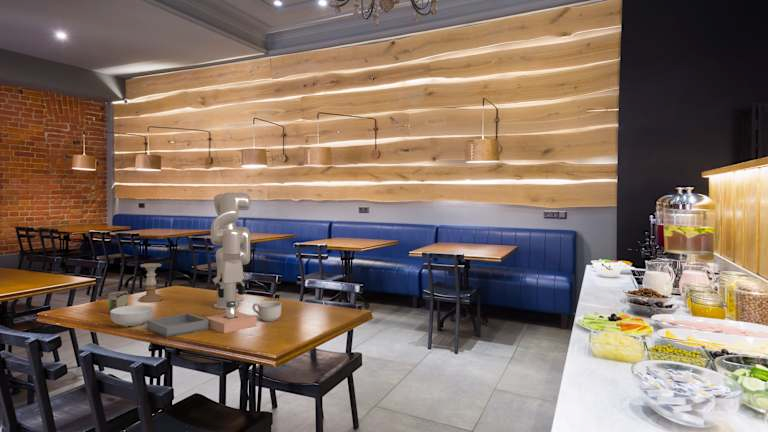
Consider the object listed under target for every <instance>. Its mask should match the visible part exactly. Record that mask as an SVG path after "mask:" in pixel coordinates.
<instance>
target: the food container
mask: <svg viewBox="0 0 768 432" xmlns="http://www.w3.org/2000/svg"><path fill="white" fill-rule="evenodd" d="M128 296H129V292H128V290H125V291H124V290H123V291H121V290H120V291H114V292H111V293H108V295H107V300H108V302H109V312H110V311H111V310H112V309H115V308H118V307H124V306H128Z"/></svg>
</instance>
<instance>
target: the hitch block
mask: <svg viewBox="0 0 768 432" xmlns="http://www.w3.org/2000/svg"><path fill="white" fill-rule="evenodd" d="M204 319H207V320H208V329H211V330H214V331H217V332H220V333H223V334H227V333H232V332H235V331H240V330H245V329H248V328H253V327H257V323H258V322H257V317H256V316H254V315H252V314H251V315H250V314H247V313H243V312H240V311H238V310H237V311H236V313H235V318H233V319H226V312H225V313H223V314H222V313H221V314H215V315H211V316H210V315H209V316H205V317H204Z"/></svg>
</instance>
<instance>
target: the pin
mask: <svg viewBox="0 0 768 432" xmlns="http://www.w3.org/2000/svg"><path fill="white" fill-rule="evenodd" d="M236 308H237V307H236V301H227V302H226V309H225V313H226V319H233V318H235V313H236Z"/></svg>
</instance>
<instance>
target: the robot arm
mask: <svg viewBox="0 0 768 432" xmlns="http://www.w3.org/2000/svg"><path fill="white" fill-rule="evenodd" d="M251 203H252V202H251V197H250V195H249V194H248V193H247V192H225V193H220V194H219V193H218V194H216V195H215V196H214V197H213V206H214V210H215V212H216V214H217V216H216V217H215V218H214V219H213V221H212V222H211V227H210V241H211V244H212V245H214V246H222V247H220V248H218V249H217V250H216V252H215V262H216V268H217V269H216V272H217V274H216V277H214V278H212V282H213V283H214V286H215V287H216V290H217V292H216V303H214V304H213V308H215V309H220V310H224V309H225V310H226V302H227V301H236V308H238V307H240V304H239V302H243V301H244V300H245V297H243V295H244V288H245V287H244V286H245V285H246V284H247V282H248V279H249V275H248V274H247V273H244V268H243V266H244V265H248V264H249V263H250V261H251V233H250V230H249V228H248V227H247V226H236V223H237V221H238V219H239V217H240V213H239V212H240V211H248V210H249V209H250V207H251ZM237 284H238V286H237ZM237 295H240V296H242V297H237Z"/></svg>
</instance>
